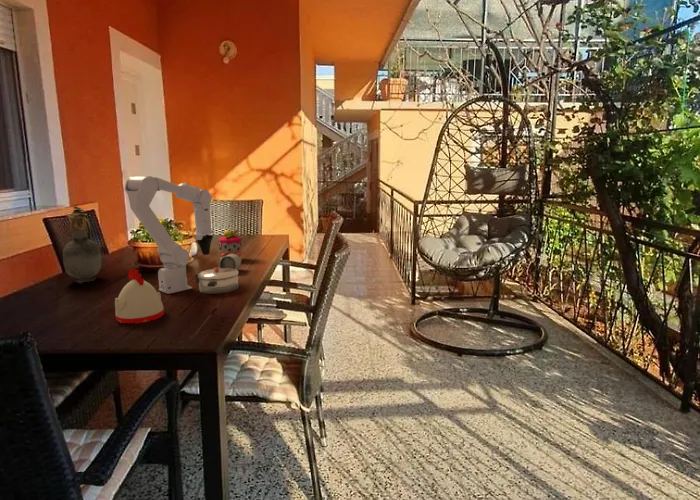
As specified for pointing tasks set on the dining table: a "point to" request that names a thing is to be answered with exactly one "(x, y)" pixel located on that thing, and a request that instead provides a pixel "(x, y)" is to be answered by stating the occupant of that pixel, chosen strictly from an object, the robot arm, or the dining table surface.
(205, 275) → the cooker lid
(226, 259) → the ceramic mug
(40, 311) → the dining table surface
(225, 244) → the cake
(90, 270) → the grey rounded bottle shape
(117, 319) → the kitchen timer
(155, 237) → the robot arm
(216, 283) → the cooker pot
